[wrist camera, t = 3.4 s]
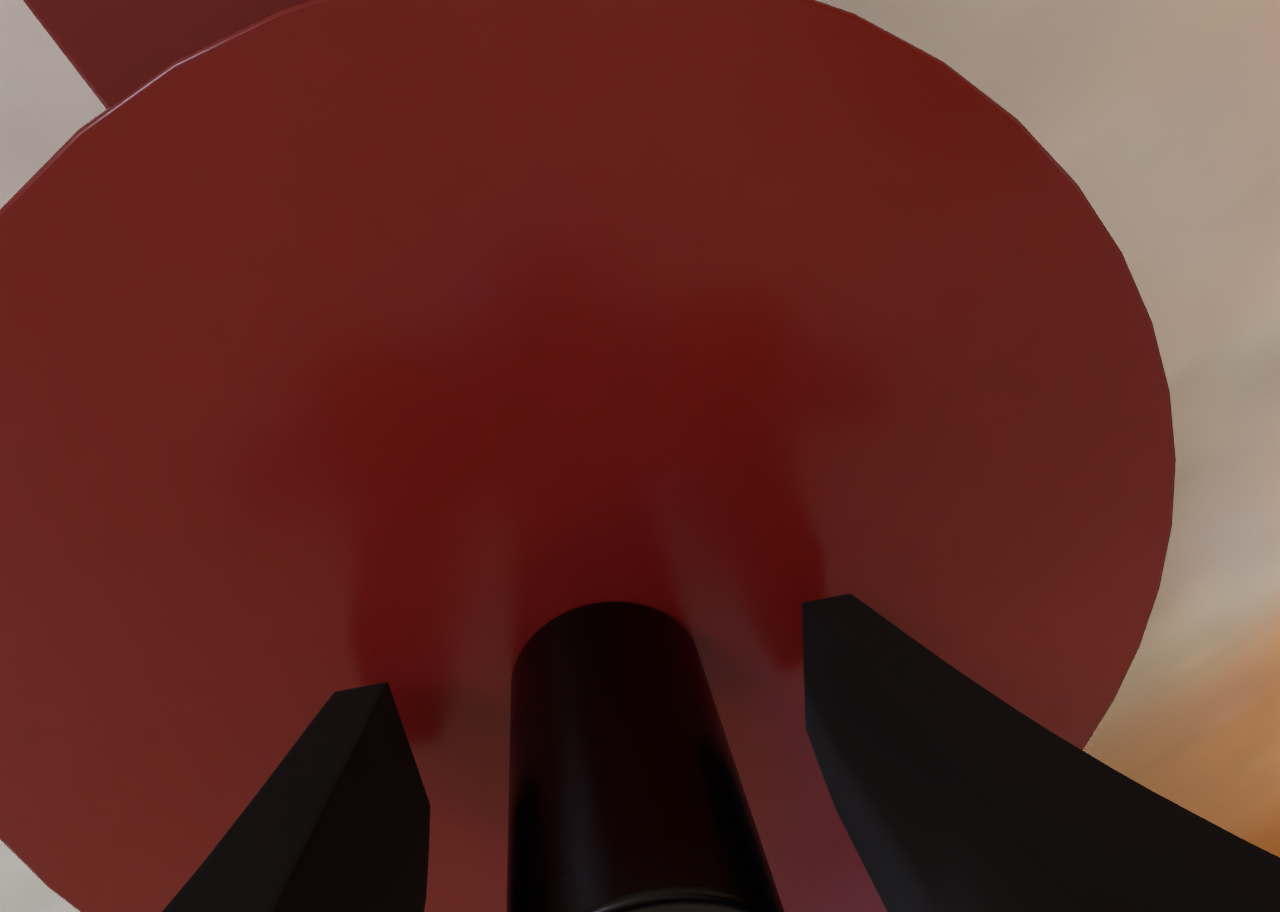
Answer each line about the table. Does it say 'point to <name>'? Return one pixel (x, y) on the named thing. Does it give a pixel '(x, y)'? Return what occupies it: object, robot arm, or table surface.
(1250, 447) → the table surface
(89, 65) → the pot
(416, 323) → the lid
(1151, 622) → the table surface
